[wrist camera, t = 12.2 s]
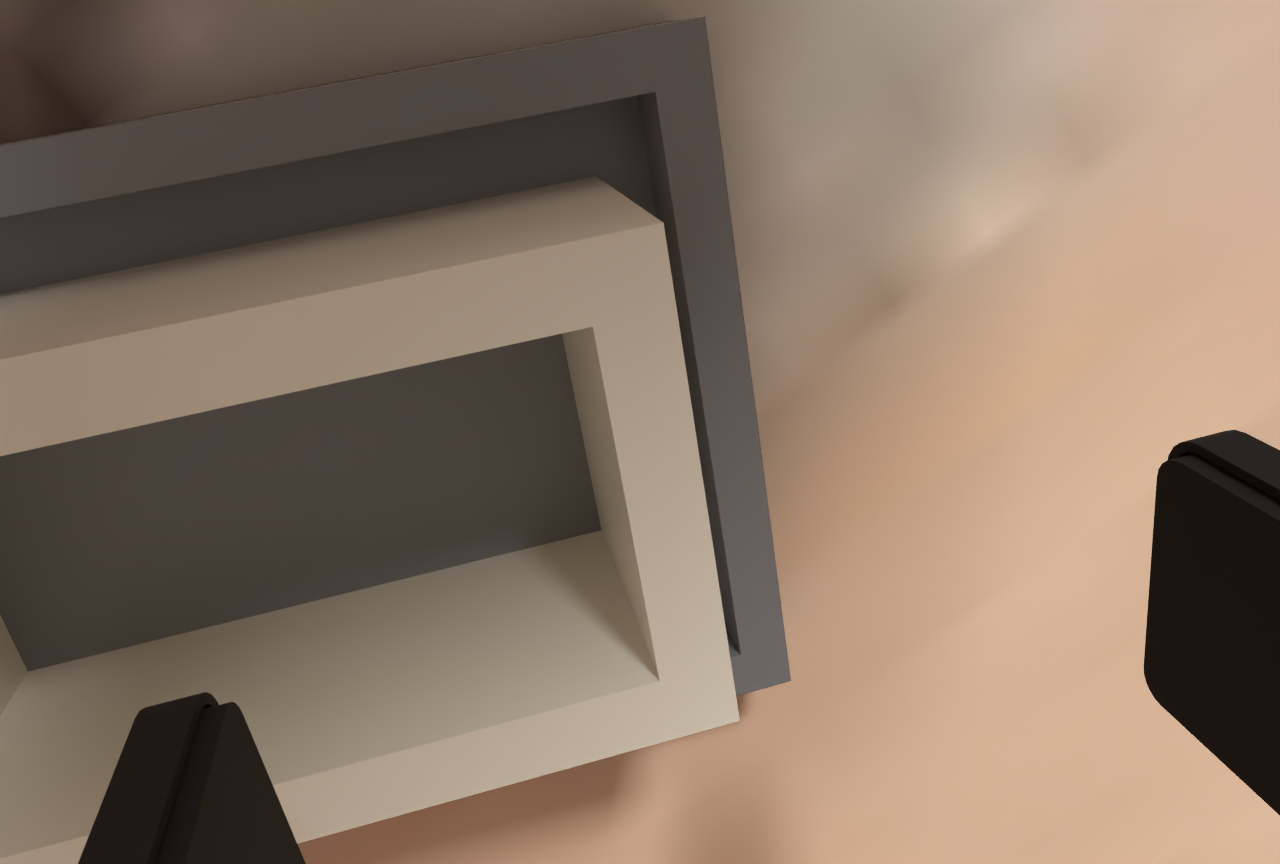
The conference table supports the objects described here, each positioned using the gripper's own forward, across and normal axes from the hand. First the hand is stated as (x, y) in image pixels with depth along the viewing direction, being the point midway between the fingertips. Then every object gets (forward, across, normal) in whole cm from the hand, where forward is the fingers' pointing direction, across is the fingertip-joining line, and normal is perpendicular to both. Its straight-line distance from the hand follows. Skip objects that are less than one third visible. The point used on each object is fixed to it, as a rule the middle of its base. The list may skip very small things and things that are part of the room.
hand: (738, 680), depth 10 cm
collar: (+11, +6, +1) cm, 12 cm away
